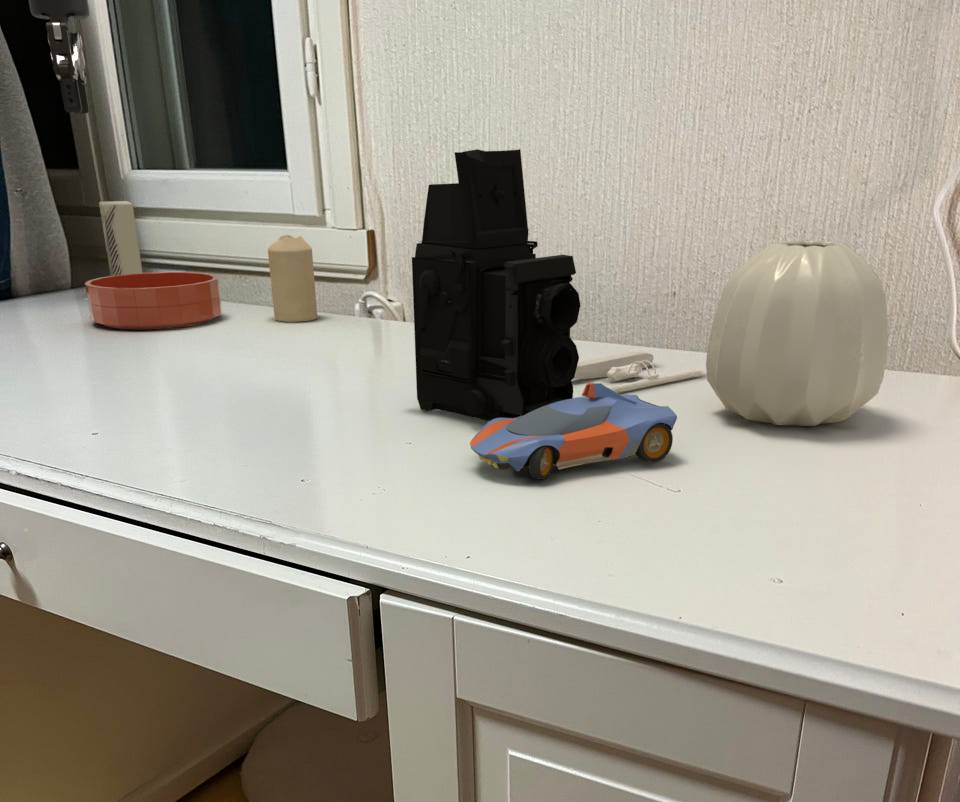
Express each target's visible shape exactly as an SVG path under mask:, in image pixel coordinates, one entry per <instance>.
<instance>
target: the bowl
mask: <svg viewBox="0 0 960 802" xmlns="http://www.w3.org/2000/svg"><path fill="white" fill-rule="evenodd" d="M84 287H85V293H86V298H87V305H88V309H89V315H90V320H91V321H93V323H96V324H100V325H103V326H104V327H107V328H110V329H118V330H133V331H134V330H135V331H136V330H137V331H144V330H151V331H152V330H167V329H168V330H169V329H176V328H185V327H191V326H192V327H193V326H198V325H200V324H201V325H202V324H205V323H209V322H211V321H212V320H213V319H214V318H217V317H220V316H221V315H223V306H222V298H221V290H220V281H219V276H217V275H215V274H213V273H205V272H193V271H161V272H160V271H158V272H157V271H156V272H155V271H153V272H142V273H135V274H124V275H114V276H111V275H107V276H102V277H97V278H93V279H88V280H87V281H85V283H84Z"/></svg>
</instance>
